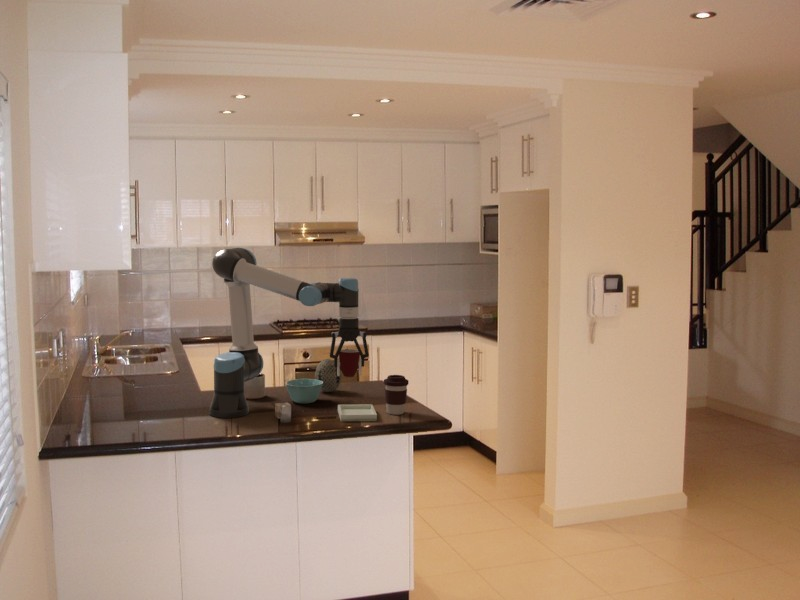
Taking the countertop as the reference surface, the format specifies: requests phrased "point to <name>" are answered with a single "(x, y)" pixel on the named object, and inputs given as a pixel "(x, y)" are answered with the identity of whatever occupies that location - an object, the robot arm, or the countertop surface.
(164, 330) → the countertop surface
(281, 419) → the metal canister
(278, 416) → the white marbled cube
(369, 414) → the tray
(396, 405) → the coffee cup
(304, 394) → the bowl
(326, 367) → the decorative egg
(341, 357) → the mug
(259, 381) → the planter
